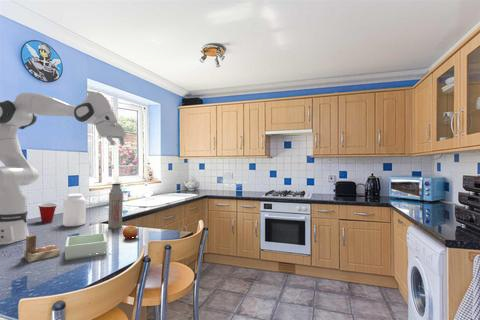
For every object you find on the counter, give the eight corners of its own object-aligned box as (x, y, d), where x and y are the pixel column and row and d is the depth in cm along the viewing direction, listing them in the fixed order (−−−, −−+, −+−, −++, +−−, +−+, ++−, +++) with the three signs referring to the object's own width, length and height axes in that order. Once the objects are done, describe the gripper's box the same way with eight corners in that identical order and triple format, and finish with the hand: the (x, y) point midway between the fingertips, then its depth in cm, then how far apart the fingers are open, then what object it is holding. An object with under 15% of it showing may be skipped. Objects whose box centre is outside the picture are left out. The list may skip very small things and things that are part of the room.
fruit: (131, 232, 152) (135, 221, 149) (137, 241, 147) (141, 231, 145) (117, 235, 146) (121, 224, 143) (123, 245, 141) (127, 234, 139)
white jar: (89, 222, 178) (90, 193, 178) (76, 227, 165) (77, 195, 165) (72, 221, 179) (73, 192, 179) (57, 226, 166) (58, 195, 166)
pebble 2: (46, 250, 117) (52, 243, 118) (46, 249, 119) (52, 243, 121) (53, 253, 118) (58, 247, 120) (53, 253, 121) (58, 246, 122)
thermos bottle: (120, 228, 165) (121, 184, 166) (107, 228, 163) (108, 184, 163) (122, 225, 173) (123, 183, 173) (109, 225, 171) (110, 183, 171)
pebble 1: (36, 252, 114) (41, 245, 116) (36, 251, 117) (42, 245, 118) (43, 256, 115) (48, 249, 117) (43, 255, 118) (49, 248, 119)
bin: (64, 260, 112) (65, 246, 112) (67, 249, 126) (67, 236, 126) (106, 254, 120) (106, 241, 120) (104, 244, 134) (104, 232, 134)
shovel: (28, 262, 109) (29, 238, 110) (24, 256, 115) (24, 234, 115) (59, 255, 118) (60, 233, 118) (53, 250, 123) (54, 229, 123)
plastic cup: (49, 223, 172) (49, 205, 172) (33, 223, 172) (33, 205, 172) (60, 219, 183) (61, 202, 183) (45, 219, 183) (46, 202, 183)
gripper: (113, 125, 148) (123, 147, 148) (90, 121, 127) (102, 147, 128) (122, 120, 147) (133, 142, 148) (101, 116, 127) (113, 142, 127)
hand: (118, 144), depth 137 cm, fingers open, 8 cm apart
